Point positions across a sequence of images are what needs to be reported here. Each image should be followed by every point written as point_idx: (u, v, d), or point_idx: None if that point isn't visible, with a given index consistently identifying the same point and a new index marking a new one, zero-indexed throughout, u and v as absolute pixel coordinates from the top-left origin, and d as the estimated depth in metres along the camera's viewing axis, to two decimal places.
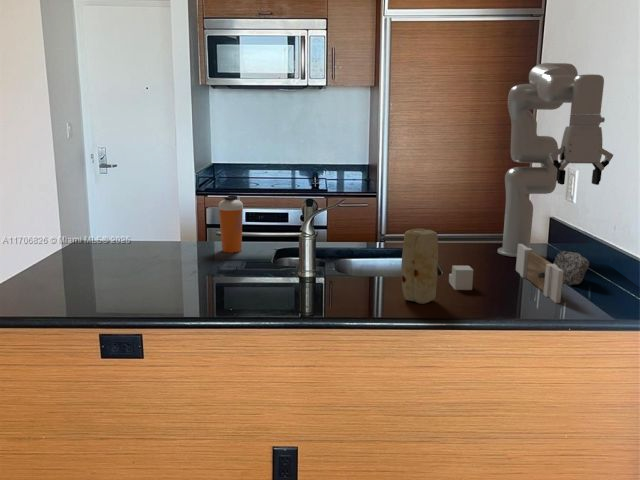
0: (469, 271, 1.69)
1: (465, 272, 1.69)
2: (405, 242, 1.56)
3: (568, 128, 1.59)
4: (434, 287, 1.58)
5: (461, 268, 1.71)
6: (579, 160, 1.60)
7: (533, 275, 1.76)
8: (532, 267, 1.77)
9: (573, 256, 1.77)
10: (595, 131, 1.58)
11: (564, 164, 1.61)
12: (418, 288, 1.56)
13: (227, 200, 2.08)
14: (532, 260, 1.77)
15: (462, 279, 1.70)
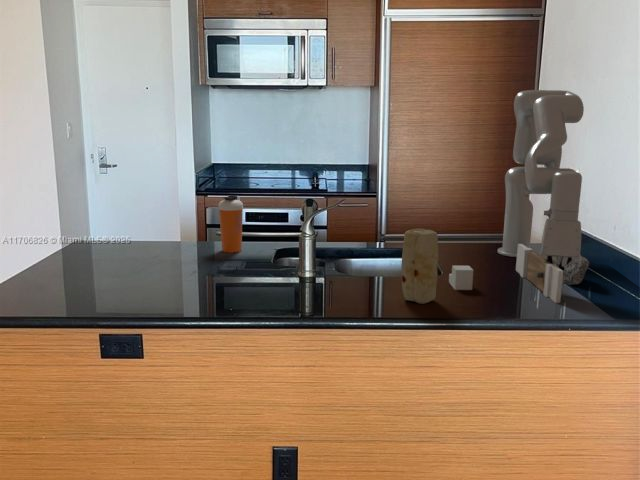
0: (469, 271, 1.69)
1: (465, 272, 1.69)
2: (405, 242, 1.56)
3: None
4: (434, 287, 1.58)
5: (461, 268, 1.71)
6: None
7: (533, 275, 1.76)
8: (532, 267, 1.77)
9: None
10: None
11: None
12: (418, 288, 1.56)
13: (227, 200, 2.08)
14: (532, 260, 1.77)
15: (462, 279, 1.70)
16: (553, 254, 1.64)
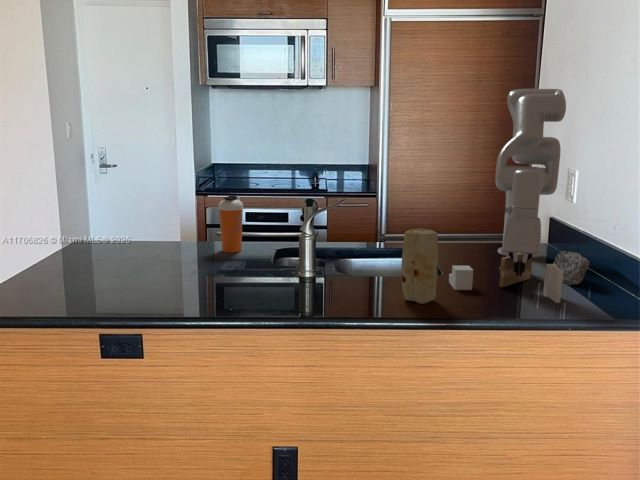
0: (469, 271, 1.69)
1: (465, 272, 1.69)
2: (405, 242, 1.56)
3: (539, 219, 1.66)
4: (434, 287, 1.58)
5: (461, 268, 1.71)
6: None
7: None
8: None
9: (573, 256, 1.77)
10: None
11: None
12: (418, 288, 1.56)
13: (227, 200, 2.08)
14: None
15: (462, 279, 1.70)
16: (513, 250, 1.67)
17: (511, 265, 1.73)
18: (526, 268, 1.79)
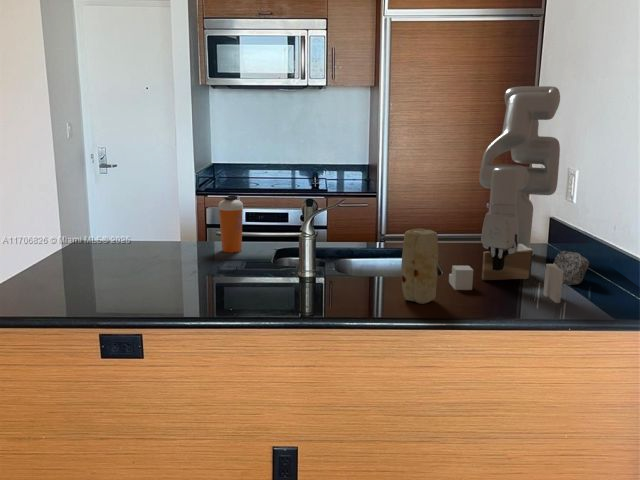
0: (469, 271, 1.69)
1: (465, 272, 1.69)
2: (405, 242, 1.56)
3: (516, 217, 1.69)
4: (434, 287, 1.58)
5: (461, 268, 1.71)
6: None
7: None
8: None
9: (573, 256, 1.77)
10: None
11: None
12: (418, 288, 1.56)
13: (227, 200, 2.08)
14: None
15: (462, 279, 1.70)
16: (488, 244, 1.74)
17: None
18: (522, 267, 1.80)
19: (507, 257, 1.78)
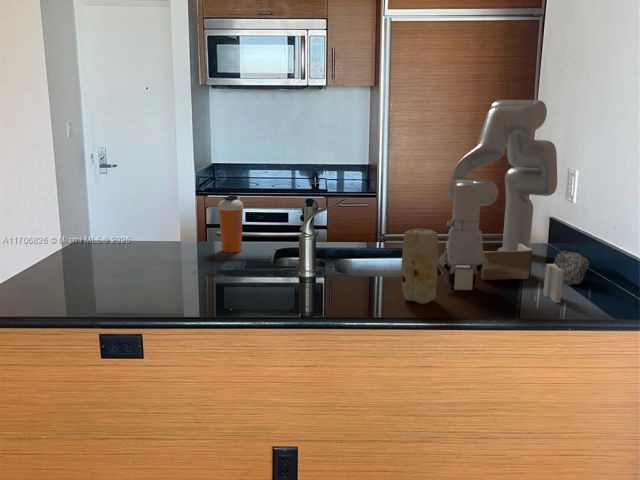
0: (469, 271, 1.69)
1: (465, 272, 1.69)
2: (405, 242, 1.56)
3: None
4: (434, 287, 1.58)
5: (461, 268, 1.71)
6: None
7: None
8: None
9: (573, 256, 1.77)
10: None
11: None
12: (418, 288, 1.56)
13: (227, 200, 2.08)
14: None
15: (462, 278, 1.70)
16: (458, 263, 1.68)
17: (495, 260, 1.78)
18: (522, 267, 1.80)
19: (507, 257, 1.79)
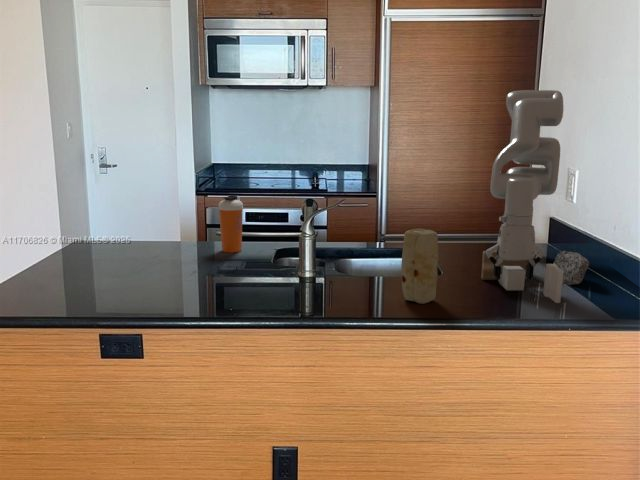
0: (521, 271, 1.69)
1: (517, 272, 1.69)
2: (405, 242, 1.56)
3: None
4: (434, 287, 1.58)
5: (513, 268, 1.71)
6: None
7: None
8: None
9: (573, 256, 1.77)
10: None
11: None
12: (418, 288, 1.56)
13: (227, 200, 2.08)
14: None
15: (514, 279, 1.70)
16: (511, 258, 1.68)
17: None
18: (522, 267, 1.80)
19: None
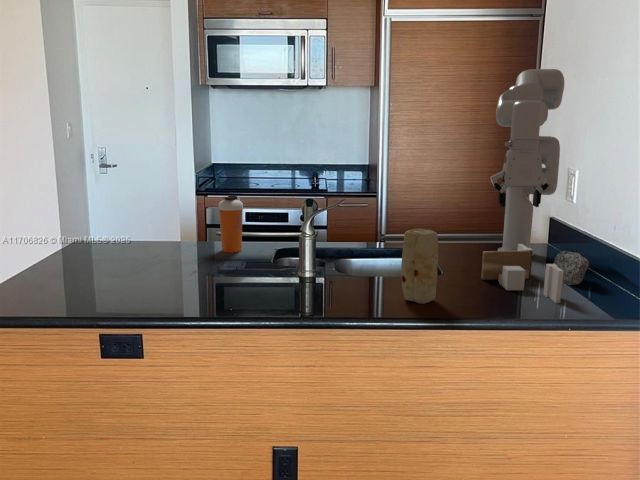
0: (521, 271, 1.69)
1: (517, 272, 1.69)
2: (405, 242, 1.56)
3: None
4: (434, 287, 1.58)
5: (513, 268, 1.71)
6: None
7: None
8: None
9: (573, 256, 1.77)
10: None
11: None
12: (418, 288, 1.56)
13: (227, 200, 2.08)
14: None
15: (514, 279, 1.70)
16: (517, 185, 1.63)
17: (495, 260, 1.78)
18: (522, 267, 1.80)
19: (507, 257, 1.79)
